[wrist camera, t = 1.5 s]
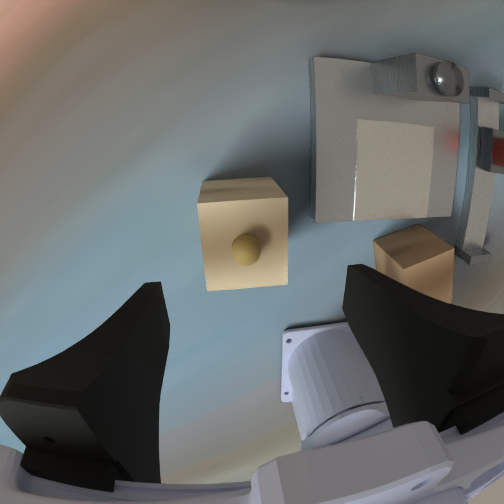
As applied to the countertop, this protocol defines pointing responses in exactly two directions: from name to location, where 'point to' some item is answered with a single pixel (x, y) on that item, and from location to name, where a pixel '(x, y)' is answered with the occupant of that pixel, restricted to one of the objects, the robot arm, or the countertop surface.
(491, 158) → the lever
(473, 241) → the rail
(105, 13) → the countertop surface
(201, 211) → the block
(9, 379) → the robot arm
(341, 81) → the press
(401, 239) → the block
